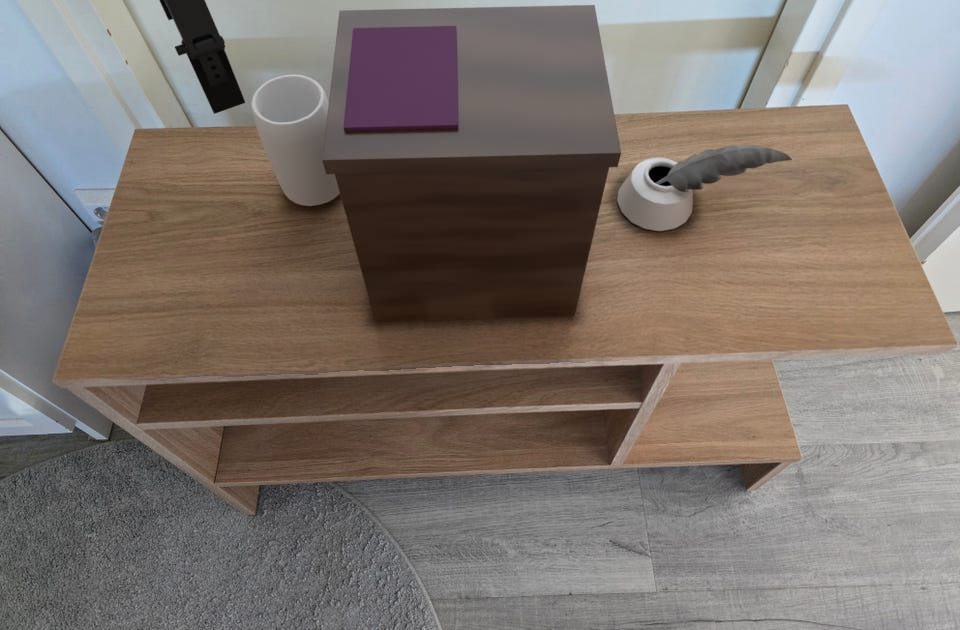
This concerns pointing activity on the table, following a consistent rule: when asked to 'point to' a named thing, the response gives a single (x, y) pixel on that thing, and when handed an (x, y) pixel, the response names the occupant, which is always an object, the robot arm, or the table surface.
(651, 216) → the inkwell
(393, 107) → the purple rectangular slab
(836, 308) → the table surface
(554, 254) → the box
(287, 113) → the cup
